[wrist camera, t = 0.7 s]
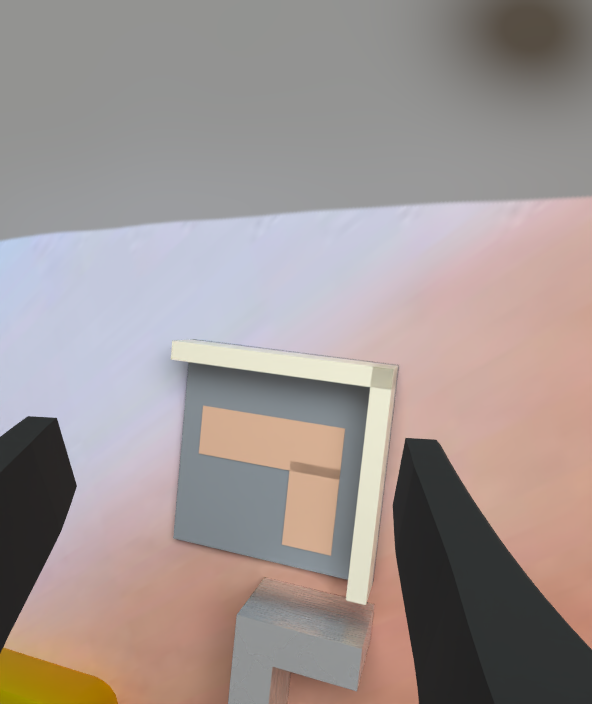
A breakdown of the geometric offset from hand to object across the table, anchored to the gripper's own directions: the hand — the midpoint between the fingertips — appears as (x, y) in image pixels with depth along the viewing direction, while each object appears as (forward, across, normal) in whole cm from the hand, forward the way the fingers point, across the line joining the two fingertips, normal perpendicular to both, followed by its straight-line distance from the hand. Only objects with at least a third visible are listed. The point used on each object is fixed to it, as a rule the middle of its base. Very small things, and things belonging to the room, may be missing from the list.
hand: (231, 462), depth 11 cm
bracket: (+11, -3, +29) cm, 31 cm away
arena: (+18, 0, +18) cm, 25 cm away
